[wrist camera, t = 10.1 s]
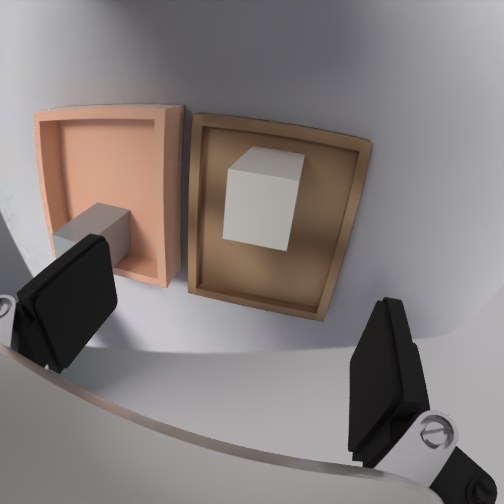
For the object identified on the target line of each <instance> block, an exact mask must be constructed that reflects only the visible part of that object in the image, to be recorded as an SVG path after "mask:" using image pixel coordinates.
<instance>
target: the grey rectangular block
mask: <svg viewBox="0 0 504 504" xmlns="http://www.w3.org/2000/svg"><path fill="white" fill-rule="evenodd" d="M88 234H96V235H100V236H104V237H105V239H106V241H107V242H108V243H109V247H110V255H111V262H112V269H113V268H114V267H115V266H116V265H117V264H118V263H119V262H120V261H121V260H122V259H123V257H124V256H125V255H126V254H127V253H128V252H129V251H130V250H131V231H130V210H128V209H124V208H120V207H116V206H111V205H107V204H103V203H98V202H97V203H96V204H94V205H93V206H91V207H90V208H88V209H87V210H85V211H84V212H82V213H81V214H80V215H78V216H77V217H75V218H74V219H72V220H71V221H70V222H68V223H67V224H65V225H64V226H63V227H61V228H60V229H58V230H57V231H56V232H54V233H53V234H52V239H53V244H54V250H55V255H56V259H57V258H59V257H60V256H61V255H62V254H64V253H65V252H66V251H67V250H69V249H70V248H71V247H73V246H74V245H75V244H76V243H78V242H79V241H80V240H82V239H83V238H84V237H86V236H87V235H88Z"/></svg>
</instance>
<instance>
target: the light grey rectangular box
mask: <svg viewBox="0 0 504 504" xmlns="http://www.w3.org/2000/svg"><path fill="white" fill-rule="evenodd" d="M304 156H305V155H304V154H299V153H293V152H288V151H282V150H276V149H270V148H263V147H257V146H252V147H251V148H250V149H249V150H248V151H247V152H246V153H245V154H244V155H243V156H241V157H240V158H239V159H238V160H237V161H236V162H235V163H234V164H233V165H232V166H231V167H230V168H229V169H228V176H227V188H226V200H225V213H224V226H223V239H227V240H233V241H238V242H243V243H248V244H253V245H258V246H263V247H268V248H273V249H278V250H283V251H287V246H288V242H289V237H290V232H291V227H292V223H293V218H294V213H295V208H296V203H297V197H298V191H299V186H300V180H301V174H302V168H303V162H304Z"/></svg>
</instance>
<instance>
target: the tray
mask: <svg viewBox="0 0 504 504" xmlns="http://www.w3.org/2000/svg"><path fill="white" fill-rule="evenodd" d="M372 144H373V143H372V142H371V141H370V140H367V139H363V138H359V137H355V136H350V135H346V134H341V133H337V132H332V131H327V130H322V129H317V128H312V127H306V126H300V125H295V124H289V123H282V122H276V121H269V120H262V119H254V118H246V117H238V116H229V115H219V114H207V113H197V114H193V117H192V132H191V150H190V172H189V203H188V293H191V294H195V295H199V296H204V297H208V298H212V299H217V300H221V301H225V302H230V303H234V304H239V305H243V306H248V307H252V308H257V309H262V310H266V311H271V312H276V313H281V314H286V315H291V316H296V317H301V318H306V319H311V320H317V321H322V322H323V320H324V317H325V315H326V312H327V309H328V306H329V303H330V300H331V297H332V293H333V290H334V287H335V284H336V281H337V278H338V275H339V271H340V268H341V265H342V261H343V258H344V255H345V251H346V248H347V244H348V241H349V237H350V234H351V230H352V227H353V223H354V219H355V216H356V212H357V208H358V204H359V200H360V196H361V192H362V188H363V184H364V180H365V176H366V171H367V167H368V163H369V158H370V154H371V149H372ZM252 146H257V147H263V148H270V149H276V150H282V151H288V152H293V153H299V154H304V155H305V156H304V162H303V168H302V174H301V180H300V186H299V191H298V197H297V203H296V208H295V213H294V218H293V223H292V227H291V232H290V237H289V242H288V246H287V251H283V250H278V249H273V248H268V247H263V246H258V245H253V244H248V243H243V242H238V241H233V240H227V239H223V226H224V213H225V200H226V188H227V176H228V169H229V168H230V167H231V166H232V165H233V164H234V163H235V162H236V161H237V160H238V159H239V158H240V157H241V156H243V155H244V154H245V153H246V152H247V151H248V150H249V149H250V148H251V147H252Z"/></svg>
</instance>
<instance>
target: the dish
mask: <svg viewBox="0 0 504 504" xmlns="http://www.w3.org/2000/svg"><path fill="white" fill-rule="evenodd" d="M184 110H185V105H175V104H100V105H81V106H68V107H57V108H53V109H49V110H45V111H42V112H38V113H34V126H35V142H36V154H37V164H38V173H39V181H40V188H41V195H42V201H43V207H44V213H45V218H46V224H47V229H48V233H49V238H50V243H51V247H52V251H53V256H54V257H56V255H55V250H54V244H53V239H52V234H53V233H54V232H56V231H57V230H58V229H60V228H61V227H63V226H64V225H65V224H67V223H68V222H70V221H71V220H72V219H74V218H75V217H77V216H78V215H80V214H81V213H82V212H84V211H85V210H87V209H88V208H90V207H91V206H93V205H94V204H96V203H97V202H98V203H103V204H107V205H111V206H116V207H120V208H124V209H128V210H130V231H131V250H130V251H129V252H128V253H127V254H126V255H125V256H124V257H123V259H122V260H121V261H120V262H119V263H118V264H117V265H116V266H115V267H114V268H113V274H115V275H119V276H122V277H126V278H130V279H133V280H137V281H141V282H145V283H148V284H152V285H156V286H160V287H164V288H167V287H168V286H169V284H170V283H171V282H172V280H173V279H174V277H175V276H176V274H177V273H178V272H179V270H180V269H181V173H182V146H183V127H184Z"/></svg>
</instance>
